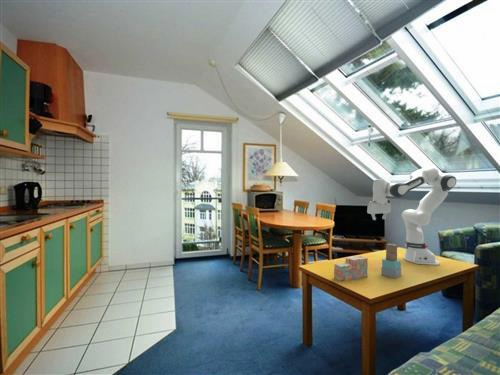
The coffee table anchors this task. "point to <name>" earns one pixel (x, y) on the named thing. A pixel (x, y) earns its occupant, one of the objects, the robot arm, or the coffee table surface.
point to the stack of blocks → (351, 268)
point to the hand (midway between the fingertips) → (379, 219)
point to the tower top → (391, 264)
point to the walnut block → (391, 252)
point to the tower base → (391, 272)
